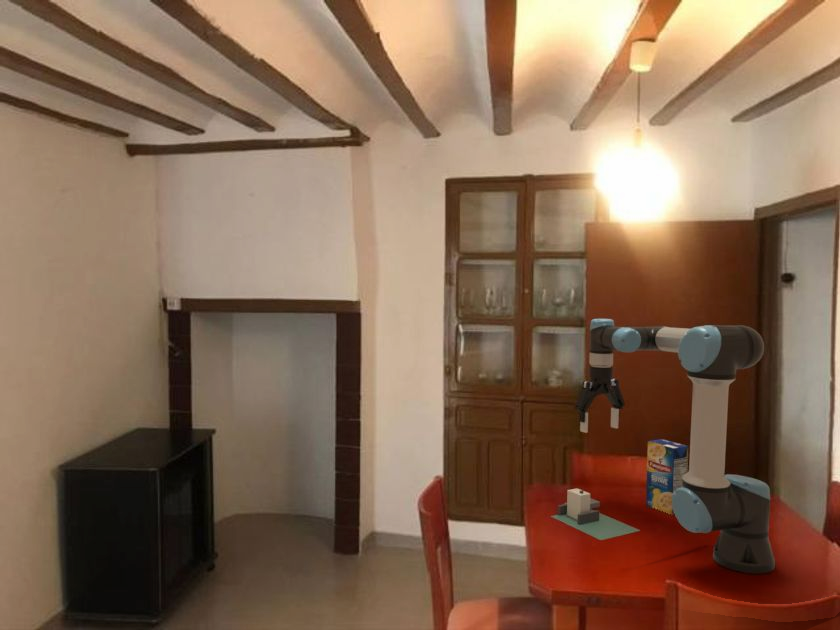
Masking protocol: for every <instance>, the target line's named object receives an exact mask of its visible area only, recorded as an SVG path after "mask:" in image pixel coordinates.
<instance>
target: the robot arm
mask: <svg viewBox="0 0 840 630" xmlns="http://www.w3.org/2000/svg"><path fill="white" fill-rule="evenodd" d="M589 328H590V329H589V362H588V363H589V365H590V366H589V367H588V369H589V370H588V376H589V378H590V381H585V380H583V381H582V386H581V390H580V391H579V395H578V398H577V400H576V401H575V405H574V408H573V409H574V411H576V412H578V421H579V422H580V425H579V431H580V432H582V433H586V434H587V433H589V412H587V411H588V410H589V408H590V407H591V405H592V403H593V402H594V400H595V398H596V397H598V395H599V396H600V395H605V396H606V398H607V399H608V401H609V402H610V404H611V406H612V407H611V408H610V428H613V429H616V430H617V429H619V420H620V419H619V418H620V417H621V416H620V413H621V410H622V409H623V408H624V407H625V405H626V403H625V401H624V397H623V394H622V392H621V389H620V386H619V379H616V378H613V377H614V376H613V375H614V367H613V365H614V351H617V352H621V353H634V352H637V351H659V352H668V353H669V352H670V353H677V356H678V360H679V362H680V361H681V362H680V364H681V366H682V368H684V369H685V370H687V373H686V376H687V378H688V379H689V380H691V382H692V398H691V399H692V400H691V418H690V419H691V420H690V421H691V422H690V423H691V424H690V438H689V439H690V440H689V441H690V442H689V443H690V444H689V459H688V460H689V461H688V462H689V465H688V471H687V473H686V474H685V475H684V476H683V479H682V487H681V488H678V489H677V490H676V491H675V492H674V493H673V495H672V508H673V511H674V514H675V515H674V516H675V518H676V519H677V521H678V523H679V524H680V525H681V526H682V528H684V529H685V530H687V531H689V532H690V533H695V534H698V533H703V534H708V533H710V532H716V531H720V532H719V534H718V536H717V539H716V541H715V544H714V547H713V550H712V551H713V553H712V558H713V560H714V562H716V564H718V565H720V566H722V567H724V568H726V569H729V570H731V571H736V572H740V573H745V574H753V575H761V574H763V575H764V574H768V573H771V572H773V571H774V570H775V567H776V566H775V565H776V564H775V563H776V559H775V556H774V553H773V549H772V546H771V541H770V538H769V529H770V513H771V512H770V509H771V508H770V507H771V499H772V498H771V488H770V487H769V485H768V484H767V483H766V482H764V481H762V480H759V479H756V478H753V477H750V476H745V475H740V474H731V473H730V474H729V473H727V474H725V472H726V471H725V467H726V450H727V449H726V448H727V430H728V429H727V428H728V427H727V426H728V409H729V405H728V404H729V390H730V389H729V388H730V384H732V383H733V382H735V381H736V378H737V370H744V369H748V368H751V367H753V366H755V365H756V364H757V363H758V362H760V360H761V359H762V357H763V355H764V351H765V344H764V343H765V342H764V340H763V337H762V335H760V333H759V332H758V331H757V330H755V329H754V328H752V327H750V326H747V325H742V324H741V325H740V324H739V325H738V324H736V325H733V324H732V325H710V324H709V325H706V324H705V325H700V326H699V325H698V326H694V327H692V328H686V327H683V328H682V327H669V326H663V325H656V326H615V321H614V320H613V319H612V318H594V319H592V320H591V321H590V327H589Z"/></svg>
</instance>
